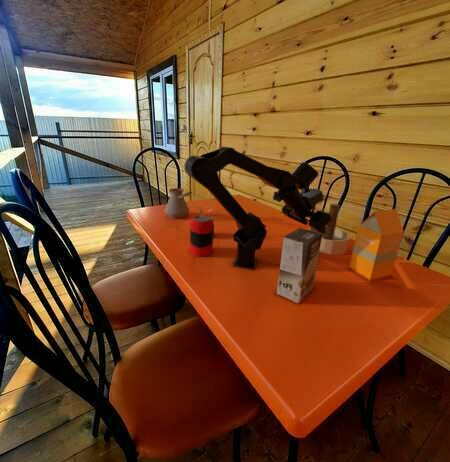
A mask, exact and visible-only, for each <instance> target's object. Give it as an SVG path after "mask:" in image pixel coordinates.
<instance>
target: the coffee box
mask: <svg viewBox="0 0 450 462" xmlns="http://www.w3.org/2000/svg"><path fill="white" fill-rule="evenodd" d="M321 239H322V234H321V233H318V232H314V231H311V230H308V229H305V228H301V227H299V228H297V229H295V230H293V231H292V232H290V233H288V234H286V235H284V236H283V242H282V250H281V257H280V265H279V272H278V273H279V274H278V280H277V290H276V294H277V295H278V296H281V297H284V298H286V299H288V300H290V301H292V302H294V303H296V304H300V303H301V302H302V301H303V299H304V298H305V297H306V296H307V295H308V294H309V293H310V292H311V291H312V290H313V288H314V283H315V278H316V274H317V273H316V272H317V267H318V261H319V256H320V252H319V250H320V244H321Z"/></svg>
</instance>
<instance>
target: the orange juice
mask: <svg viewBox="0 0 450 462" xmlns="http://www.w3.org/2000/svg"><path fill="white" fill-rule="evenodd" d="M404 233H405V231H404V228H403V224H402V223H401V219H400V216H399V213H398V210H397V208H394V209H393V208H392V209H383V210H375V211H373V212H372V213H371V214H370V215H369V216H368V217H367V218H366V219H365V220H364V221H362V222H361V223H360V224H359V225H358V227H357V232H356V236H355V240H354V244H353V248H352V253H351V258H350V263H349V268H351V269H352V270H354V272H357V273H358V274H360V275H361V276H363V277H365V278H367V279H366V281H367V282H369V283H370V282H372V280H374V279H375V280H376V279H380V278H385V277H388V276H392V274H393V271H394V267H395V263H396V261H397V258H398V254H399V250H400V247H401V243H402V240H403V236H404Z"/></svg>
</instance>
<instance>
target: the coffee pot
mask: <svg viewBox="0 0 450 462" xmlns="http://www.w3.org/2000/svg"><path fill="white" fill-rule="evenodd" d="M168 191H169V192H170V195H169V199H168V201H167V203H166V206H165V208H164V212H165V214H166V215H167V216H168V217H169V218H172V219H182V218H185V217H186V216H187V215H188V214H189V212H190V209H189V205H188V204H187V201H186V199H185V197H188V196H189V197H191V198H192V197H194V196H195V193H194V192H192V191H188V192H185V193H184V189H183V188H178V187H176V188H169V190H168ZM183 193H184V194H183ZM191 194H193V195H191Z"/></svg>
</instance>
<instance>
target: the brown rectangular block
mask: <svg viewBox="0 0 450 462" xmlns="http://www.w3.org/2000/svg"><path fill="white" fill-rule="evenodd" d="M339 211H340V204H337V203H330V204H329V210H328V213H330V215H331V216H332V220H331V221H330V222H329V223H328V224H327V225H326V231H327V233H326V234H325V237H324V239H328V240H333V237H334V232H335V228H337V227H336V226H337V221H338V216H339Z"/></svg>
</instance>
